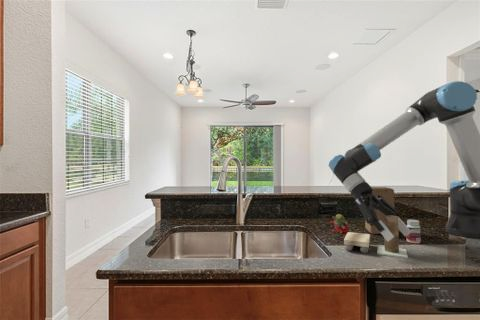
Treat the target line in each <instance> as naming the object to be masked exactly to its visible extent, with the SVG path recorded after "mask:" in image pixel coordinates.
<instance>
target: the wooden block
mask: <svg viewBox="0 0 480 320" xmlns="http://www.w3.org/2000/svg"><path fill="white" fill-rule="evenodd" d="M371 187H372V189H373V191H372V194H373V195H374V196H376V197H377V196H378V195H380V196H381V197H382V198H383V199H384V200H385V201H386V202H387V203H388V204H389V205H391V206H392V207H393V208H394V209H395V190H394V188H391V187H387V186H371ZM374 209H375V208H374ZM375 212H376V215H377V217H378V221H380V220H381V221H382V222H383V224H384V215H385V214H384V213H382V212H381V211H379V210H378V209H377V210H376V209H375ZM368 219H369V218H368ZM364 221H365V224H364V225H365V227H364V228H365V229H366V231H368V232H369V233H370V235H371V234H372V235H382V234H381V233H380V232H379V230H378V229H377V228H376V227H375V226H374V225H373V226H371V225H370V224H368V223H367V222H366V220H365V219H364Z"/></svg>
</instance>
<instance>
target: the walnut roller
mask: <svg viewBox="0 0 480 320" xmlns="http://www.w3.org/2000/svg"><path fill="white" fill-rule="evenodd" d="M384 225H385V226H386V227H387V228H388V229H389V231H390V232H391V233H392V234H393V235H394V238H392V239H391V240H390V241H387V240H386V239H385V238H384V237H383V238H384V240H383V241H384V244H383V246H385V251H387V252H392V253H398V252H399V248H400V240H399V239H400V238H399V237H400V236H399V235H400V234H399V232H400V230H399V228H398V216H394V215H384Z"/></svg>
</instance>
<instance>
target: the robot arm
mask: <svg viewBox="0 0 480 320" xmlns="http://www.w3.org/2000/svg"><path fill="white" fill-rule="evenodd" d="M477 100H478V94H477V91H476V89H475V87H473V86H472V85H471V84H469V83H468V82H465V81H459V80H458V81H451V82H447V83H445V84H443V85H441V86H439V87H437V88H434V89H432V90H430V91H428V92H426V93H425V94H424V95H422V96H421V97H420V98H419V99H418V100H416V101H415V102H413V104H411V105H410V106H408V107H407V108H406V109H405V112H403V113H401V115H400V116H397V117H396V118H395V119H393V120H392V121H390V122H389V123H388V124H386V125H384V126H383V127H382V128H380V129H378V131H376V132H374V133H372V134H371V135H370V136H369V137H367V138H366V139H364V140H363V141H361V142H360V143H358V144H357V145H355V147H352V148H351V149H348V150H346V151H345V153H344V154H343V155H342V154H337V155H335V156H333V157H332V158H331V159H330V160H329V161H328V162H329V163H328V167H329V169H330V170H331V172H332V173H333V175H334V176H335V177H336V178H337V180H339V181H340V183H341V184H342V185H343V186H344V188H345V189H346V190H347V191H348V192H349V193H350V195H351V196H352V198H353V199H354V200H355V201H354V204H356V206H357V207H358V208H359V211H360V213H361V215H362V216H363V218H364V221H365V220H366V222H367V223H368V224H370V225H371V226H373V225H374V226H375V227H376V228H377V229H378V230H379V232H380V233H381V234H380V235H382V236H383V238H385V239H386V240H387V241H390V240H391V239H392V238H394V235H393V234H392V233H391V232H390V231H389V229H388V228H387V227H386V226H385V225H384V224H383V222H382V221H381V220H380V221H378V217H377V215H376V212H375V209H376V210H377V209H378V210H379V211H381V212H382V213H384V214H385V215H394V216H398V228H399V232H400V233H402V235H403V236H404V237H406V236H407V235H408V234H410V233H411V232H412V231H411V230H410V229H409V228H408V227H407V226H406V225H407V224H406V223H405V222H404V221H403V220H402V219H401V218H400V216H401V213H400V212H399V211H398V210H396V209H395V207H394V208H393V207H392V206H391V205H389V204H388V203H387V202H386V201H385V200H384V199H383V198H382V197H381V196H380V195H378V196H377V197H376V196H374V195H373V194H372V191H373V189H372V187H373V186H371V185H370V183H369V182H367V181H366V179H365V178H364V177H363V176H362V175H361V174H360V173H359V172H360V171H361V170H362V169H364V168H366V167H368V166H369V165H371V164H373V163H375V162H376V161H377V160H379V159H380V158H381V157H382V153H381V150H383V149H384V148H386V147H387V146H388V145H390V144H391V143H393V142H395V141H397V139H399V138H400V137H403V135H405V134H406V133H408V132H409V131H411V130H412V129H414V128H415V127H416V126H422V125H424V124H425V123H427V122H429V121H431V120H434V119H436V118H437V120H438V123H439V124H442V125H445V127H446V129H447V131H448V134H449V136H450V139H451V141H452V144H453V146H454V148H455V150H456V153H457V155H458V158H459V161H460V162H461V165H462V167H463V170H464V172H465V175H466V177H467V179H468V180H454V181H451V182H450V183H449V190H448V191H449V217H448V220H447V222H446V225H445V232H446V233H448V234H451V235H454V236H459V237H464V238H471V239H472V238H473V239H480V131H479V129H478V126H477V124H476V122H475V119H474V117H473V116H474V114H475V112H476V109H475V107H474V106H475V104H476V101H477ZM374 208H375V209H374ZM368 218H369V219H368Z"/></svg>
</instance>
